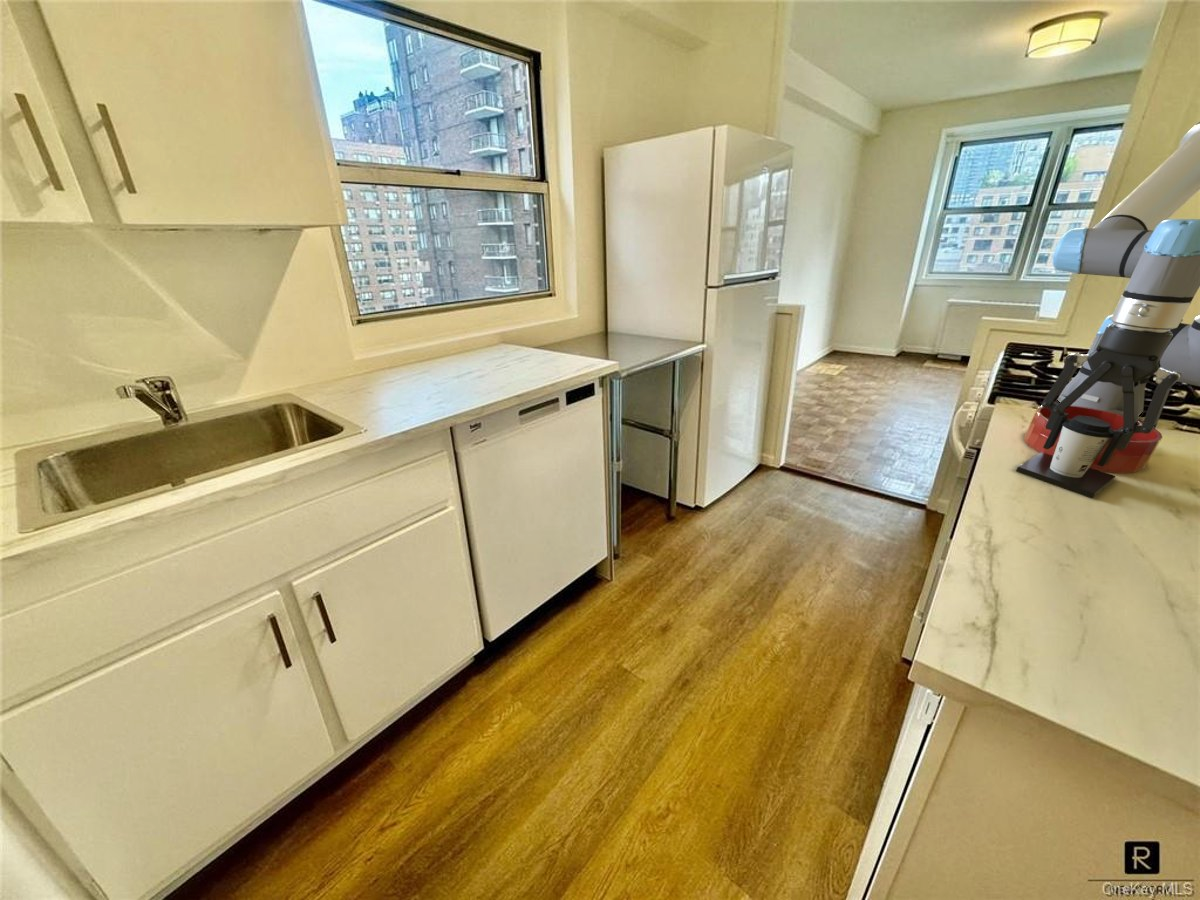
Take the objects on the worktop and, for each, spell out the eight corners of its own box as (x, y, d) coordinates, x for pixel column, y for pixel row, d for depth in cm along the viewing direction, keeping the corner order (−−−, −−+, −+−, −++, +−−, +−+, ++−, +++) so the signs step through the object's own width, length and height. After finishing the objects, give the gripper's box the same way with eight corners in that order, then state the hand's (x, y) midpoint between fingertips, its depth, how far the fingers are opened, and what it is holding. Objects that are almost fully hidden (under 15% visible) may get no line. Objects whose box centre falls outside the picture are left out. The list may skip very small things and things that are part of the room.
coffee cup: (1096, 484, 84) (1125, 433, 79) (1045, 474, 87) (1070, 423, 83) (1086, 468, 89) (1113, 418, 85) (1038, 458, 92) (1061, 410, 88)
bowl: (1043, 425, 109) (1056, 398, 106) (1156, 457, 96) (1174, 427, 93) (1009, 444, 100) (1021, 415, 97) (1127, 482, 87) (1146, 450, 84)
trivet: (1039, 456, 95) (1041, 452, 95) (1113, 480, 87) (1116, 475, 87) (1015, 471, 90) (1017, 466, 90) (1092, 498, 82) (1095, 493, 81)
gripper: (1053, 317, 82) (1001, 439, 92) (1231, 344, 67) (1144, 485, 77) (1069, 313, 85) (1017, 430, 96) (1241, 337, 71) (1157, 472, 81)
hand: (1074, 454), depth 87 cm, fingers closed on coffee cup, 7 cm apart
